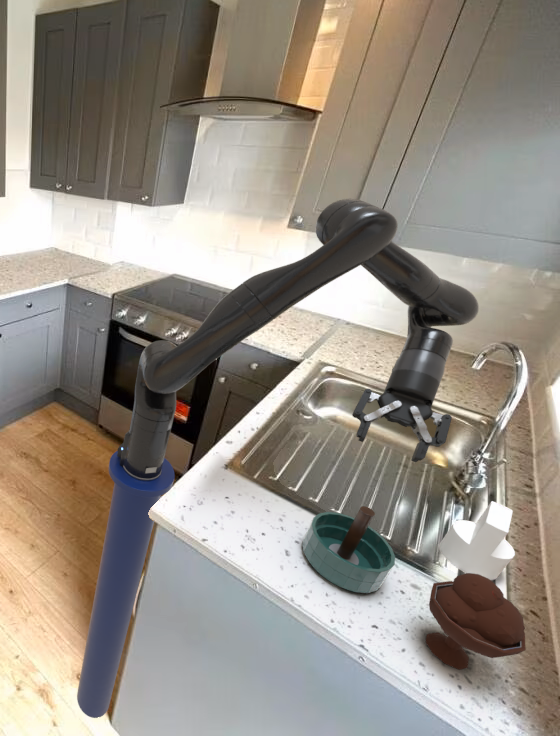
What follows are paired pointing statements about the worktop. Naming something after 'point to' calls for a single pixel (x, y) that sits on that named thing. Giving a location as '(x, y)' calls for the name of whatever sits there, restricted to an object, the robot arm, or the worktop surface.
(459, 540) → the base with upright slab
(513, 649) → the ice cream bowl
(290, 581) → the worktop surface
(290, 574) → the worktop surface
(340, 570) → the mixing bowl
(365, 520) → the brown peg on base
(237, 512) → the worktop surface
